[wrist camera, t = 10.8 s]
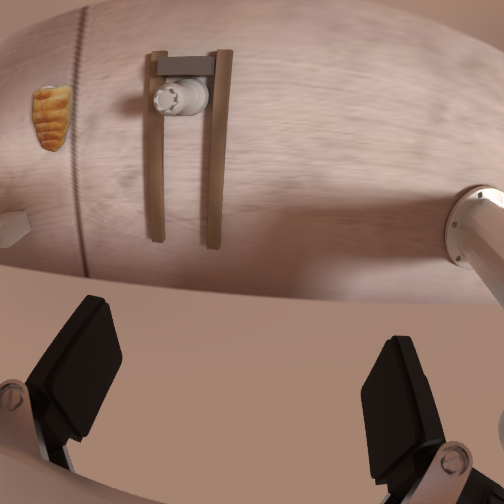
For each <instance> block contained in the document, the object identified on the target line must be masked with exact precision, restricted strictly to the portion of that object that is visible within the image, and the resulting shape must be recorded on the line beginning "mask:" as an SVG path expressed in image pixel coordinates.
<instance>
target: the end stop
mask: <svg viewBox="0 0 504 504" xmlns="http://www.w3.org/2000/svg"><path fill="white" fill-rule="evenodd" d="M216 59H217V58H215V57H212V56H185V57H161V58H158V68H157V75H162V76H179V75H203V76H215V71H216Z"/></svg>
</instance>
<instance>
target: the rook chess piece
mask: <svg viewBox="0 0 504 504" xmlns="http://www.w3.org/2000/svg"><path fill="white" fill-rule="evenodd" d="M208 101H209V92H208V89H207V87H206V85H205V84H204V83H203V82H202V81H200V80H197V79H195V78H186V79H182V80H180V81H178V82H177V83H173V82H172V83H165V84H163V85H161V86H160V87H159V88H158V89H157V90H156V92H155V95H154V98H153V103H154V106H155V108H156V110H157V111H158V112H159V113H160V114H162V115H165V116H174V115H176V114H180V115H183V116H192V115H196V114H198V113H200V112H201V111H202V110H203V109H204V108H205V107H206V105H207V103H208Z"/></svg>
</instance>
